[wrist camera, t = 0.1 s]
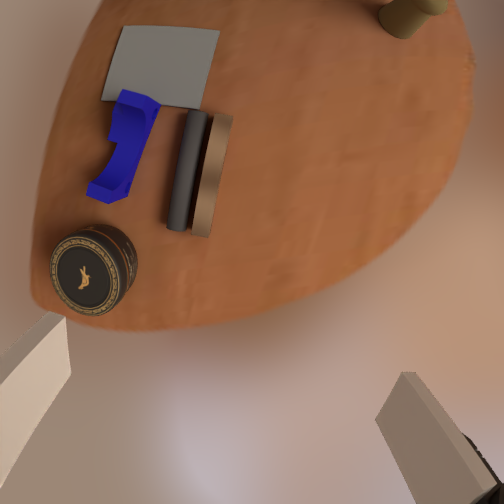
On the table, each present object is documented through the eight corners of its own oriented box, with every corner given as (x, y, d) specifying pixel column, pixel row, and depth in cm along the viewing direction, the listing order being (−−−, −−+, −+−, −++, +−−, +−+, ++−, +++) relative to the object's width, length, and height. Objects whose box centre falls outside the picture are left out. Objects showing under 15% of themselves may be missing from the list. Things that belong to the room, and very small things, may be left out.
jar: (135, 217, 36) (113, 228, 29) (148, 291, 39) (130, 318, 31) (70, 225, 36) (40, 238, 28) (84, 294, 38) (59, 318, 31)
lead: (190, 113, 33) (186, 109, 31) (210, 116, 33) (207, 112, 31) (169, 225, 37) (164, 228, 34) (187, 228, 37) (183, 232, 35)
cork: (398, 45, 31) (440, 18, 20) (370, 13, 30) (405, -22, 19) (420, 31, 30) (462, 5, 20) (394, 1, 29) (429, -31, 18)
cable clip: (129, 95, 31) (110, 85, 26) (161, 104, 32) (147, 95, 26) (97, 185, 34) (75, 190, 29) (127, 196, 35) (108, 204, 29)
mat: (125, 27, 29) (124, 25, 28) (219, 32, 30) (219, 30, 30) (102, 100, 32) (101, 100, 31) (199, 109, 33) (198, 109, 32)
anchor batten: (216, 116, 33) (215, 112, 31) (233, 119, 33) (232, 116, 31) (193, 230, 37) (191, 234, 34) (210, 233, 37) (208, 237, 34)
